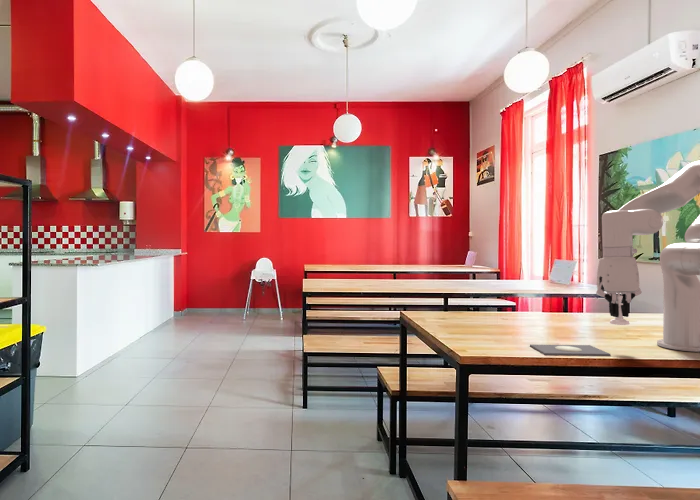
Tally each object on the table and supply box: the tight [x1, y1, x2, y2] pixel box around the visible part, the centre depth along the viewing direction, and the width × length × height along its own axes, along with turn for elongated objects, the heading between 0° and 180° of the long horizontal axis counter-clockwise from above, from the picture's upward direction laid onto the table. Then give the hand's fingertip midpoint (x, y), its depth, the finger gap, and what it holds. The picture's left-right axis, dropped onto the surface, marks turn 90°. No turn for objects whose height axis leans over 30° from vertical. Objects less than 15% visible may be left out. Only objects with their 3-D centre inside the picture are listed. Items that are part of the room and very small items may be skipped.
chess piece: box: [609, 292, 630, 326], centre depth 127 cm, size 5×5×10 cm
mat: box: [529, 343, 611, 357], centre depth 127 cm, size 18×11×1 cm, turn 88°
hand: (619, 315), depth 127 cm, fingers closed on chess piece
